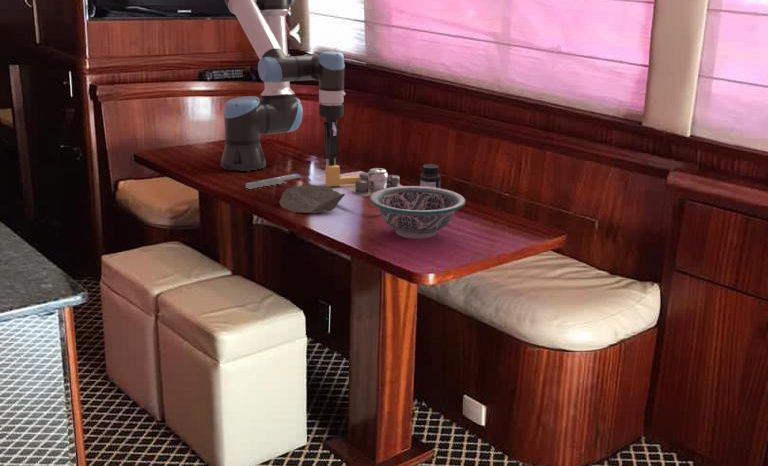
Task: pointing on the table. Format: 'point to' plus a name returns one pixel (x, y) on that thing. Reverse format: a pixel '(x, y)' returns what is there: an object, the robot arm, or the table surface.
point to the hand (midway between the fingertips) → (330, 178)
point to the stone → (310, 198)
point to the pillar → (271, 181)
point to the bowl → (417, 209)
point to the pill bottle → (430, 176)
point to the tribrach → (371, 181)
